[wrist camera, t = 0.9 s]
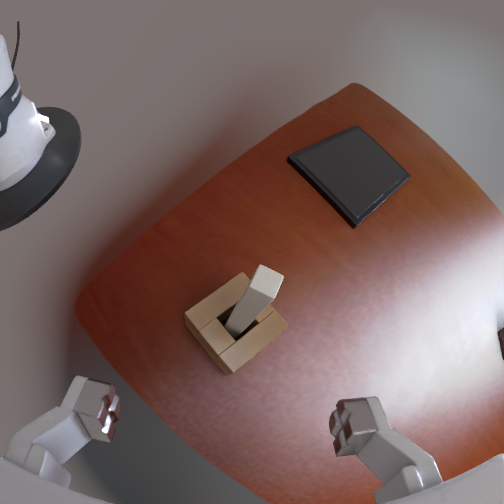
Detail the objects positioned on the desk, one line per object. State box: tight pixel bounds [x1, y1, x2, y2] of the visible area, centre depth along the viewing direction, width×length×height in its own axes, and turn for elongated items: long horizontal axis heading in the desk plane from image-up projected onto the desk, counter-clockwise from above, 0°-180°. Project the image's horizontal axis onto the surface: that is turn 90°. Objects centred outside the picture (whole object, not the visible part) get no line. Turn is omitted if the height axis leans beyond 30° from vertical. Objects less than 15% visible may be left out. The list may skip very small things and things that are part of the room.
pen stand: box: [185, 272, 289, 375], centre depth 28 cm, size 7×7×5 cm
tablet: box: [287, 125, 411, 229], centre depth 45 cm, size 20×14×1 cm
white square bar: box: [224, 264, 284, 339], centre depth 23 cm, size 2×2×15 cm
